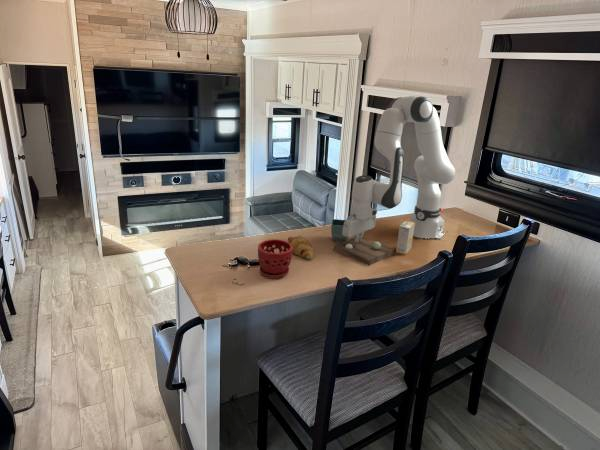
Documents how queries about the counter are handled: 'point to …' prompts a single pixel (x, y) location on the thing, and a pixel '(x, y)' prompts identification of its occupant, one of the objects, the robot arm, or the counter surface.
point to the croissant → (301, 247)
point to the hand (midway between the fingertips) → (357, 241)
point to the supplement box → (405, 237)
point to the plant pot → (274, 258)
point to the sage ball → (377, 245)
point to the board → (363, 251)
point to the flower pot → (337, 230)
